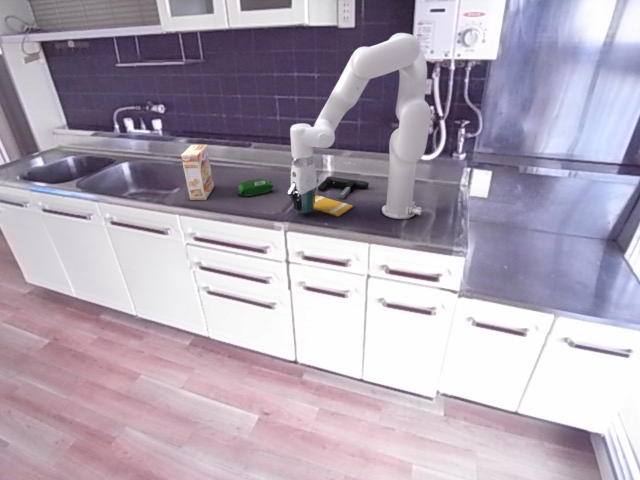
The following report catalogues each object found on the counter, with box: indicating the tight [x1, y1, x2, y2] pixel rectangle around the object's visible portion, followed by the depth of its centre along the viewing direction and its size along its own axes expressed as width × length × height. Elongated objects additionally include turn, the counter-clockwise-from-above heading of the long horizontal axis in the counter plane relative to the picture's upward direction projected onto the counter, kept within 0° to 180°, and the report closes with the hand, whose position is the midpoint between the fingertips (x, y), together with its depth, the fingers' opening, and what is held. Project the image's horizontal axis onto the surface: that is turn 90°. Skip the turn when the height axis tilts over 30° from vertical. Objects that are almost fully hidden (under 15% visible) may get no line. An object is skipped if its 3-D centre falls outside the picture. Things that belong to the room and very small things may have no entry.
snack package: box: [237, 178, 274, 197], centre depth 161 cm, size 7×16×5 cm, turn 112°
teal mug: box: [290, 189, 315, 214], centre depth 141 cm, size 10×7×8 cm
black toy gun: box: [317, 176, 370, 200], centre depth 162 cm, size 3×20×16 cm
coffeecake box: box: [180, 144, 215, 201], centre depth 159 cm, size 15×7×20 cm, turn 0°
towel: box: [314, 195, 354, 217], centre depth 149 cm, size 18×10×1 cm, turn 52°
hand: (304, 205), depth 141 cm, fingers closed on teal mug, 7 cm apart
